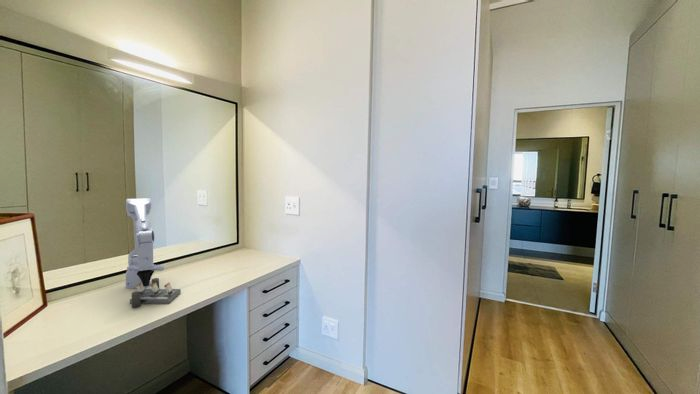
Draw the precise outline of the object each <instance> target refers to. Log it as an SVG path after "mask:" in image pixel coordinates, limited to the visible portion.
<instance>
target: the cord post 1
mask: <svg viewBox="0 0 700 394" xmlns="http://www.w3.org/2000/svg"><path fill="white" fill-rule="evenodd" d="M131 298H132V304H131V308H132V309H136V308H139V307H141V305H142V304H140V292H139V291H138V290H137V291H133V292H132V293H131Z"/></svg>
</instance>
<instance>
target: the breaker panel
mask: <svg viewBox="0 0 700 394" xmlns="http://www.w3.org/2000/svg"><path fill="white" fill-rule="evenodd" d="M172 289H173V291H172V292H171V293H170V294H168V293H167V291H166V289H165V288H159V291H158V292H157V293H156V294H154V293H153V291H152V289H151V288H145V291H144V292H143V293H141V294H140V304H141V305H169V304H170V303H171V302H173V300H175V299H176V298H177V297H178V296H179V295H181V292H182V291H181V288H172ZM129 304H130V305H132V297H131V298H130V299H129Z"/></svg>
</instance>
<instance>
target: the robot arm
mask: <svg viewBox="0 0 700 394" xmlns="http://www.w3.org/2000/svg"><path fill="white" fill-rule="evenodd" d="M151 208H152V201H151V198H149V197H147V198H142V197H141V198H140V197H139V198H126V199H125V211H126V214H127V216H128V217H131V218H132V222H133V237H134V240H133V241H134V249H133V250H131V252H129V253H128V258H127V261H128V262H127V265H128V266H127V267H126V272H125V286H124V289H137V287H136V285H137V284H139V283H141V282H142V284H143V287H144V288H145V289H147V287H150V285H151V284H152V276H153V274H154V273H155V271H159V272H162V271H164V270H165V266H164V265H159V264H154V242H155V232H154V229H153V228H152V225H151V221H150V219H148V218H147V216H148V215H149V214H150V213H151V212H150V211H151Z"/></svg>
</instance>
